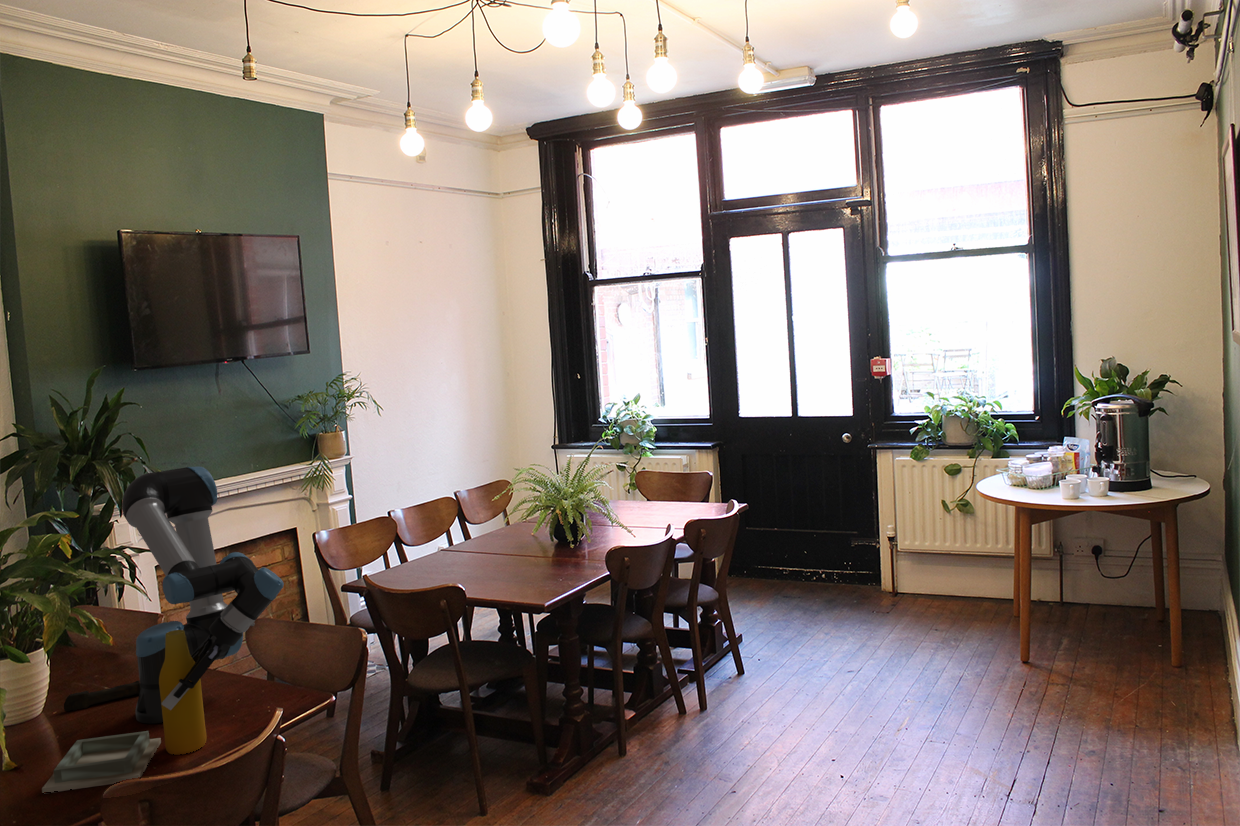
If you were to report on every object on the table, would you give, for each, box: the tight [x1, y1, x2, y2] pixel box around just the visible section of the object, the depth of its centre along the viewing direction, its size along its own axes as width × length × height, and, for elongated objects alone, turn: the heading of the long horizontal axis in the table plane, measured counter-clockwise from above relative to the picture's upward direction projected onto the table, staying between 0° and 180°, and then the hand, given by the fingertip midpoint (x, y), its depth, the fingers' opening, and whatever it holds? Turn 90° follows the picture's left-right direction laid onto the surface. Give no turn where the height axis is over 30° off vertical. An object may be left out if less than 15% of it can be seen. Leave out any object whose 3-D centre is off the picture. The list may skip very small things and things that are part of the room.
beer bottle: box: [159, 630, 208, 756], centre depth 231 cm, size 9×9×29 cm
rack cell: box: [41, 730, 162, 794], centre depth 224 cm, size 20×20×4 cm
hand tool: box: [63, 680, 141, 712], centre depth 264 cm, size 19×4×5 cm, turn 123°
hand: (167, 699), depth 230 cm, fingers closed on beer bottle, 9 cm apart
